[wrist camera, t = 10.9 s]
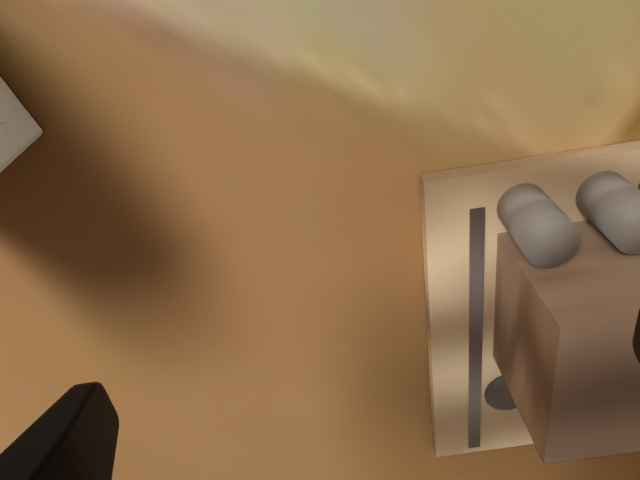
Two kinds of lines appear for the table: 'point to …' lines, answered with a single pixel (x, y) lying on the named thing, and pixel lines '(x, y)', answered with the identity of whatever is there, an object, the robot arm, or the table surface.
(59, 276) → the table surface
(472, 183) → the guide board
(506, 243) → the upright wooden block
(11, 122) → the small box
